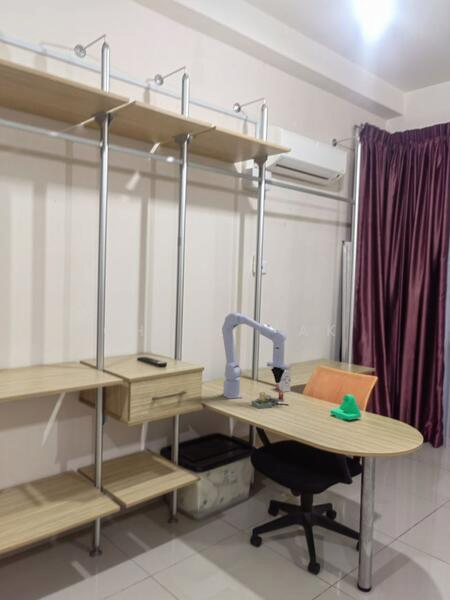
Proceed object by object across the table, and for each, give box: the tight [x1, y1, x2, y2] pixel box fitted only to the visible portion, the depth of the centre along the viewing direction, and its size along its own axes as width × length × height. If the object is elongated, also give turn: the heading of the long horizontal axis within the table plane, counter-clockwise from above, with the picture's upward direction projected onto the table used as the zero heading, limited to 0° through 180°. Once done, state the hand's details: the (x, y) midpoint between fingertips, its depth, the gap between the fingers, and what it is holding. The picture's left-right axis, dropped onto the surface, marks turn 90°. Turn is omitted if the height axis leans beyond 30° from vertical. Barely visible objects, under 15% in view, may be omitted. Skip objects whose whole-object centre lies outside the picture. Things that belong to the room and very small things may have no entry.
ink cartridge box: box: [275, 362, 292, 393], centre depth 271 cm, size 9×5×15 cm, turn 22°
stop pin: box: [258, 391, 266, 404], centre depth 237 cm, size 3×3×6 cm
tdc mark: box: [279, 402, 290, 406], centre depth 240 cm, size 4×1×1 cm, turn 68°
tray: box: [251, 399, 273, 409], centre depth 237 cm, size 7×7×2 cm
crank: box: [265, 391, 285, 403], centre depth 242 cm, size 10×4×4 cm, turn 72°
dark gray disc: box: [255, 397, 279, 406], centre depth 244 cm, size 11×11×1 cm
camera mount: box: [330, 393, 362, 421], centre depth 221 cm, size 12×8×10 cm, turn 33°
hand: (277, 382), depth 245 cm, fingers closed
